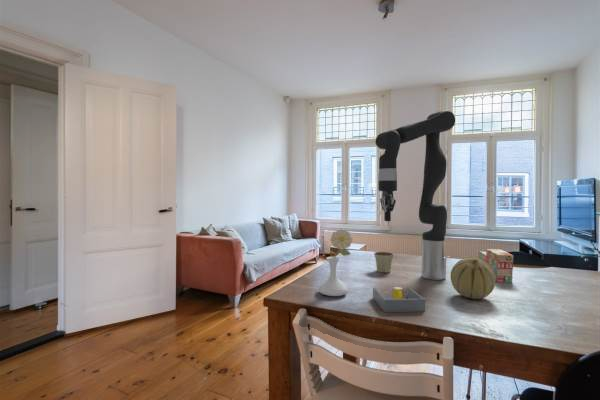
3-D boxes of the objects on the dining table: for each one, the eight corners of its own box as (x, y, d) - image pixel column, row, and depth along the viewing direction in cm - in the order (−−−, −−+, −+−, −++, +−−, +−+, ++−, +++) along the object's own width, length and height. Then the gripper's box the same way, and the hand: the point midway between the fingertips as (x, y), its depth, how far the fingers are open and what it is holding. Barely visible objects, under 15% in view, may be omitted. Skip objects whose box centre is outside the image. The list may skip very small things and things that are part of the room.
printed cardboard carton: (478, 269, 154) (479, 245, 154) (492, 270, 153) (492, 245, 152) (496, 282, 133) (497, 254, 133) (512, 283, 132) (513, 254, 131)
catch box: (409, 297, 114) (409, 286, 114) (425, 311, 101) (425, 299, 101) (372, 298, 113) (373, 287, 113) (384, 312, 100) (384, 300, 100)
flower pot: (370, 271, 149) (370, 254, 148) (377, 267, 156) (377, 250, 156) (389, 275, 143) (390, 256, 143) (396, 270, 151) (396, 253, 151)
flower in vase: (313, 296, 115) (314, 229, 114) (323, 287, 125) (323, 226, 124) (348, 301, 110) (349, 231, 109) (355, 291, 120) (355, 227, 119)
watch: (391, 302, 110) (391, 285, 110) (399, 302, 110) (399, 285, 110) (396, 307, 104) (396, 290, 104) (404, 307, 104) (404, 290, 104)
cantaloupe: (474, 290, 123) (475, 252, 122) (505, 303, 108) (506, 261, 108) (441, 292, 120) (442, 253, 120) (467, 306, 106) (468, 263, 105)
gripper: (402, 179, 122) (402, 222, 123) (390, 180, 136) (390, 219, 136) (384, 179, 122) (383, 223, 123) (374, 180, 135) (374, 219, 136)
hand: (387, 220), depth 130 cm, fingers closed
